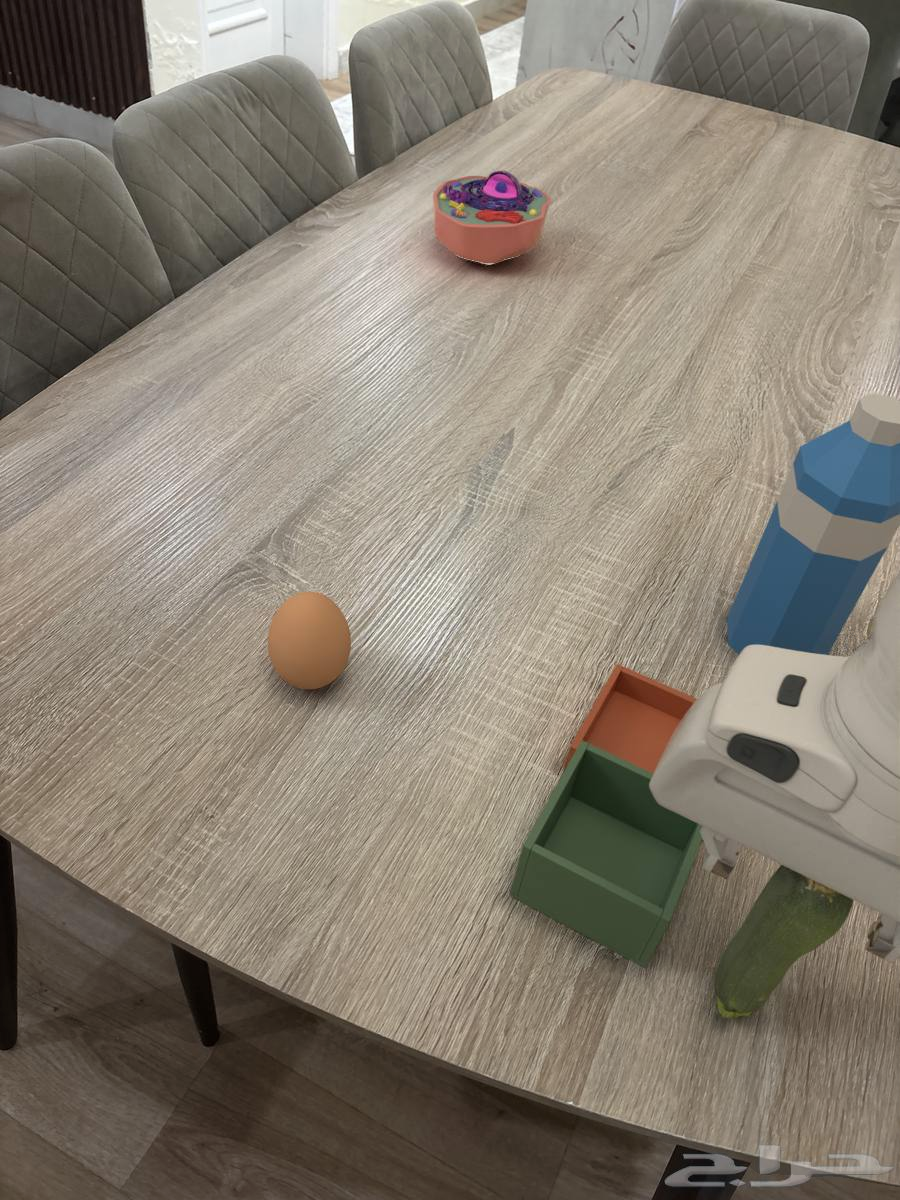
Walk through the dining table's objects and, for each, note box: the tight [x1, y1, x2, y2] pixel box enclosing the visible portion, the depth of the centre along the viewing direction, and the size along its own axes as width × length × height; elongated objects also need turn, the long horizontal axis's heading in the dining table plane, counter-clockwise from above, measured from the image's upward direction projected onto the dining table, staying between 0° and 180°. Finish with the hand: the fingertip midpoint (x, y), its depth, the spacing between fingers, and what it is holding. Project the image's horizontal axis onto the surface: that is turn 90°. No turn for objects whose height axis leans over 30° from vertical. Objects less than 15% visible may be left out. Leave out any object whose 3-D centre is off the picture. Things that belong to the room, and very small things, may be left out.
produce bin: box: [508, 740, 703, 969], centre depth 65 cm, size 10×10×6 cm
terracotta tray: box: [563, 663, 698, 773], centre depth 75 cm, size 12×10×3 cm
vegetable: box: [713, 864, 854, 1019], centre depth 55 cm, size 4×4×20 cm
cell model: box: [432, 170, 552, 267], centre depth 137 cm, size 17×20×11 cm
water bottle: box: [726, 393, 900, 655], centre depth 78 cm, size 9×9×25 cm
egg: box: [267, 591, 352, 690], centre depth 75 cm, size 7×7×9 cm
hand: (796, 904), depth 53 cm, fingers open, 8 cm apart
